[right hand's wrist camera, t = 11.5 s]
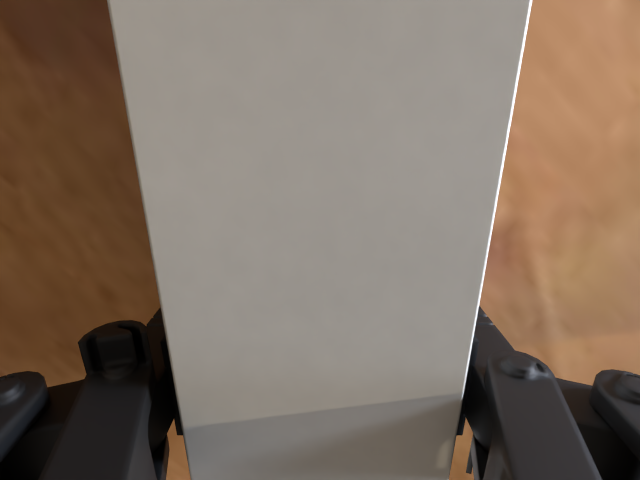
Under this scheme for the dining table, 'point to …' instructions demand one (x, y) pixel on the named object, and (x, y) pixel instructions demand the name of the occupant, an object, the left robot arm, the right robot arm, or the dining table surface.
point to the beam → (319, 220)
